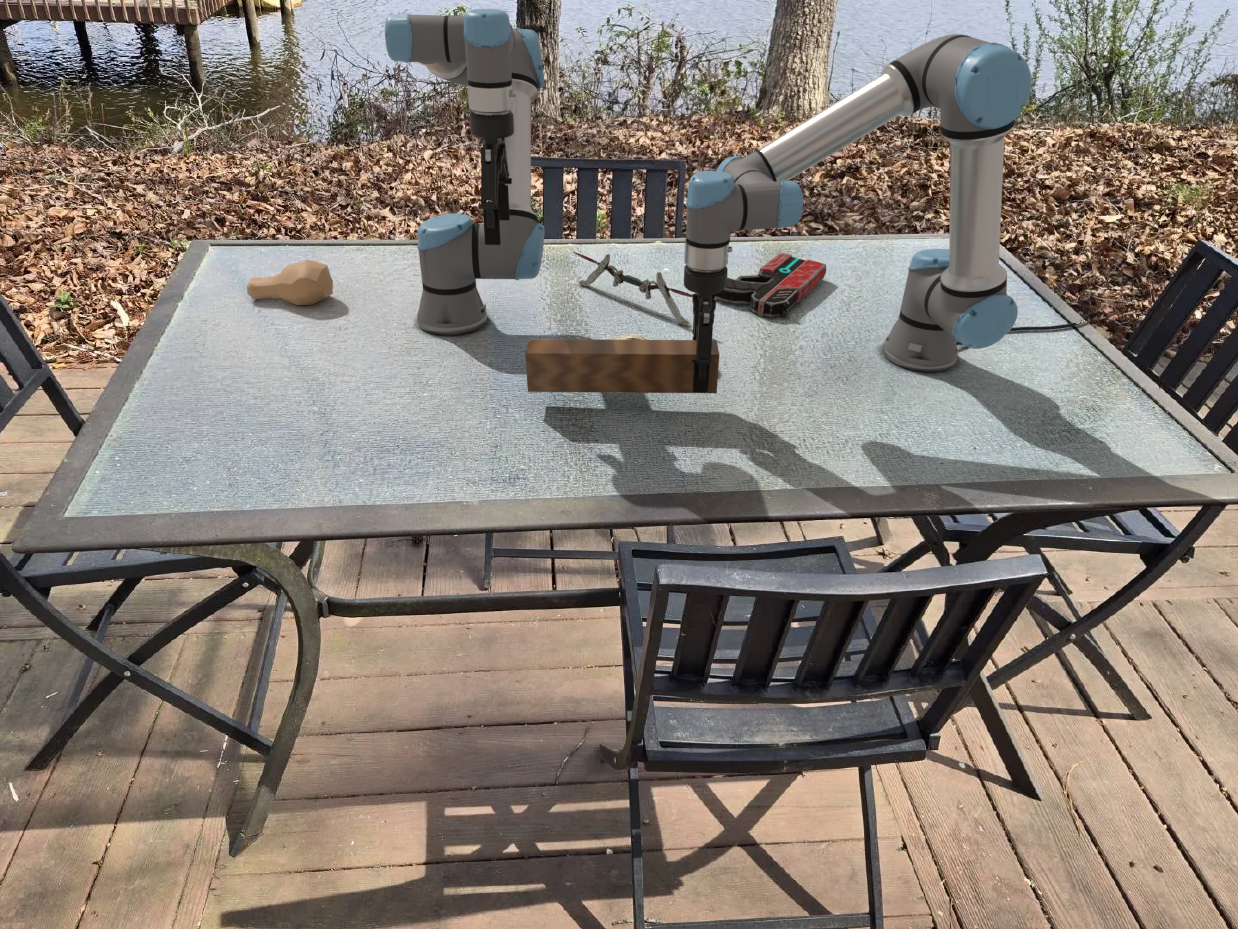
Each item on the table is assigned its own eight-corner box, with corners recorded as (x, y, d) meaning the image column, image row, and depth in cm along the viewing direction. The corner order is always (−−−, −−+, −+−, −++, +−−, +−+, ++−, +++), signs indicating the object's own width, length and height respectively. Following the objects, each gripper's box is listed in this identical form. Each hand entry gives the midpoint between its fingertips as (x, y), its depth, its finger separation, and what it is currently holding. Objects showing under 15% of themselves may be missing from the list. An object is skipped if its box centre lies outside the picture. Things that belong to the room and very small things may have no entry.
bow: (697, 327, 197) (701, 285, 192) (692, 329, 196) (696, 287, 191) (576, 279, 219) (576, 241, 213) (571, 281, 218) (571, 242, 212)
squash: (332, 309, 201) (318, 275, 195) (248, 317, 202) (232, 283, 196) (343, 284, 209) (330, 250, 203) (262, 291, 210) (247, 258, 204)
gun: (708, 284, 207) (784, 305, 199) (760, 245, 229) (831, 262, 221) (706, 302, 209) (781, 323, 201) (758, 261, 231) (828, 278, 223)
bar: (527, 392, 162) (525, 353, 158) (530, 376, 167) (528, 338, 163) (716, 393, 162) (719, 354, 158) (714, 378, 167) (716, 340, 162)
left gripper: (504, 128, 141) (510, 255, 152) (520, 96, 161) (525, 210, 173) (457, 127, 141) (467, 254, 152) (480, 95, 161) (487, 209, 173)
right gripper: (733, 286, 143) (723, 409, 156) (723, 246, 159) (715, 360, 172) (687, 286, 144) (681, 408, 156) (681, 245, 159) (677, 359, 172)
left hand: (497, 231), depth 163 cm, fingers open, 13 cm apart
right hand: (699, 383), depth 164 cm, fingers closed on bar, 6 cm apart
